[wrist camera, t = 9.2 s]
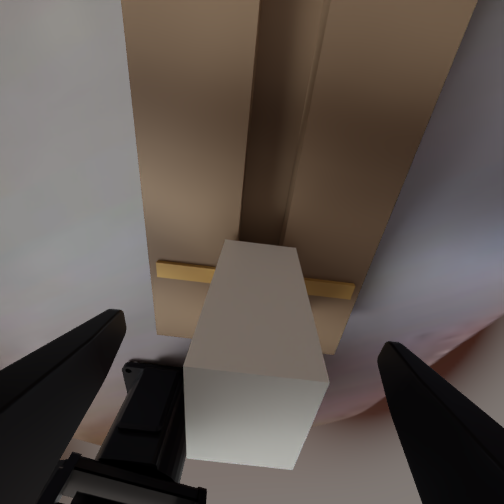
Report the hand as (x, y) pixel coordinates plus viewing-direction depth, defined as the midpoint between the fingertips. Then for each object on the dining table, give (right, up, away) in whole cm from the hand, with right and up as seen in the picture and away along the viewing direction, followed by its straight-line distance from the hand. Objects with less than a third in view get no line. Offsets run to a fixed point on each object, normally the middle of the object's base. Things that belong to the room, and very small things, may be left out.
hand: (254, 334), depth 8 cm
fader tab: (0, +2, +4) cm, 5 cm away
